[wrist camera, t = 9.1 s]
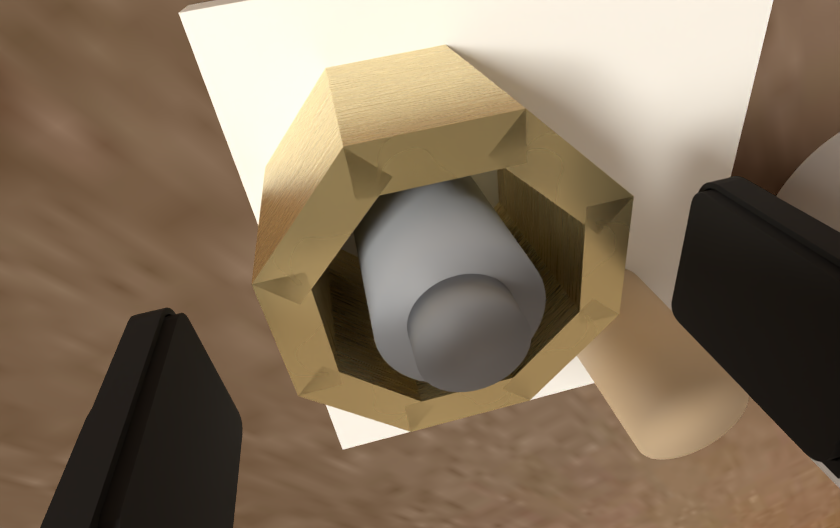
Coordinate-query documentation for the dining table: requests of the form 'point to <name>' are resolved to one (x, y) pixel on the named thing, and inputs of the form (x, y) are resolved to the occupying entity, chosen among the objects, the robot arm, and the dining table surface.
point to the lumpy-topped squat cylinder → (818, 199)
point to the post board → (478, 194)
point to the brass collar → (409, 168)
